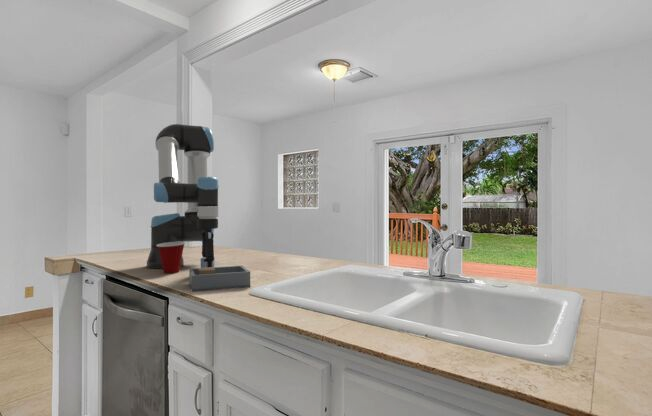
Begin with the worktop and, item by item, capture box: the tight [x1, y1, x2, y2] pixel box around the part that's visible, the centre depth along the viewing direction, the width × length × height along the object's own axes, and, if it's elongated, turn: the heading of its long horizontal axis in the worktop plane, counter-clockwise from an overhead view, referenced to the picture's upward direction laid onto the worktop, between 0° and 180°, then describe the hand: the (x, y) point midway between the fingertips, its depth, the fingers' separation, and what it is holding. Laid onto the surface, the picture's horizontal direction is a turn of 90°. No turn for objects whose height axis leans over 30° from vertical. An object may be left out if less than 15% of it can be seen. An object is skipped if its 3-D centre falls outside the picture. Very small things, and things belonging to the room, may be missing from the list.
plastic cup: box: [156, 242, 186, 274], centre depth 147 cm, size 11×11×12 cm
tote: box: [188, 265, 251, 293], centre depth 123 cm, size 14×18×5 cm
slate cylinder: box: [200, 257, 216, 268], centre depth 137 cm, size 5×5×7 cm
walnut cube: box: [197, 267, 215, 275], centre depth 121 cm, size 5×5×5 cm
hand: (207, 276), depth 137 cm, fingers open, 11 cm apart
